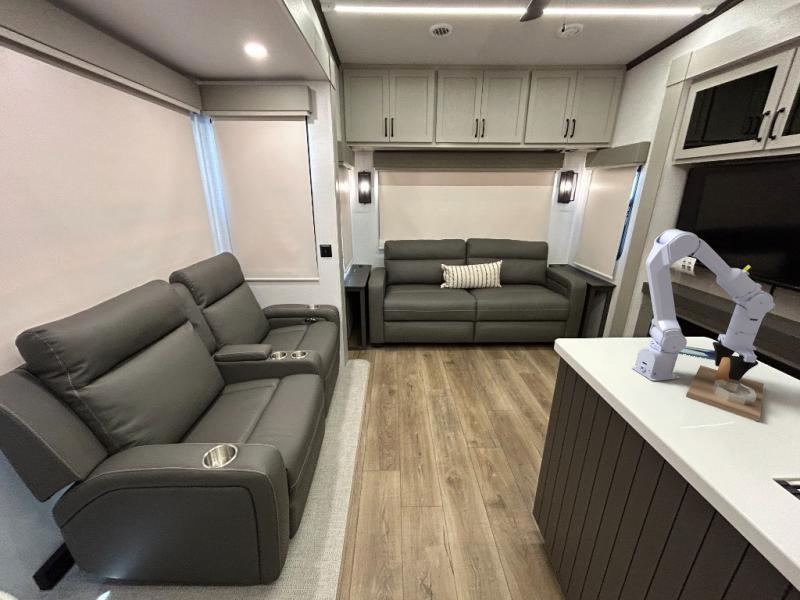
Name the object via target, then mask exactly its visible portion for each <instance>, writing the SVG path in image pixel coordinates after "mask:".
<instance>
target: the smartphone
mask: <svg viewBox="0 0 800 600" xmlns="http://www.w3.org/2000/svg"><path fill="white" fill-rule="evenodd" d="M679 354H680V355H683V354H686V355H685V356H689V355H690V357H694V356H695V358H700V357H701V359H705V358H706V360H712V361H715V350H713V349H708V348H707V349H706V348H699V347H694V346H693V347H692V346H687V345H686V346H685V348H684V349H683V350H681V351H679ZM679 354H678V355H679Z"/></svg>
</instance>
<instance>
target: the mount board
mask: <svg viewBox="0 0 800 600" xmlns="http://www.w3.org/2000/svg"><path fill="white" fill-rule="evenodd" d="M717 370H718V369H716V368H711V367H708V366H705V365H702V364H701V365H699V367H698V370H697V372H696V374H695V375H694V378H693V380H692V381H691V384H690V385H689V388H688V390H687V392H686V395H685V397H686V398H688V399H691V400H695V401H697V402H700V403H703V404H707V405H708V406H711V407H714V408H718V409H720V410H723V411H725V412H728V413H731V414H734V415H736V416H740V417H742V418H745V419H748V420H750V421H755V422H757V423H758V422H759V420H760V417H761V410H762V404H763V397H764V396H763V395H764V387H765V383H763V382H760V381H756V380H752V379H749V378H746V377H744V376H743V377H742V378H741V379H740V380H739V381H738V380H734V382H737V383H741V384H743V385H745V386H747V387H749V388H751V389H753V390H754V391H755V393H756V395H757V396H756V399H755V401H754V404H747V405H742V404H738V403H734V402H730V401H727V400H725V399H723V398H721V397H720V396H718V395H716V394H714V391H713V386H714V383H715V381H717V380H720V379H718V378H716V373H717ZM732 392H733V391H732Z"/></svg>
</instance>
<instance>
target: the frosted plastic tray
mask: <svg viewBox="0 0 800 600" xmlns="http://www.w3.org/2000/svg"><path fill="white" fill-rule="evenodd" d="M713 391H714V394H716V395H718V396H720V397H721V398H723V399H725V400H727V401H730V402H734V403H738V404H742V405H747V404H754V401H755V399H756V396H757V395H756V393H755V391H754V390H753V389H751V388H749V387H747V386H745V385H743V384H741V383H737V382H733V381H729V380H717V381H715V383H714V386H713ZM732 391H733V392H732Z"/></svg>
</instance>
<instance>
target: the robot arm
mask: <svg viewBox="0 0 800 600" xmlns="http://www.w3.org/2000/svg"><path fill="white" fill-rule="evenodd" d="M653 241H654V242H653V247H652V248H651V250H650V252H649V255H648V257H647V258H646V261H645V267H646V273H647V280H648V281H647V282H648V287H649V293H650V298H651V299H650V300H651V305H652V306H651V307H652V313H653V318H652V319H651V326H650V329H649V335H650V337H651V340H650V342H649V344H648V346H646V347H643V348H641V349H639V351H638V353H637V356H636V359H635V363H634V365H633V366H631V369H632V370H635V371H636V372H637V373H639V374H641V375H642V376H644V377H645V378H647V379H648V380H650V381H652V382H657V381H658V382H659V381H667V380H676V379H680V376H679V375H677V374H676V373H673V372H674V369H675V367H676V363H677V360H678V357H679V351H681V350H683V349H684V348H685V346H687V344H688V341H687V339H686V336H685V335H683V333H682V328H681V325H680V324H679V322H678V320H677V315H676V314H677V313H676V308H675V301H674V293H673V286H672V279H671V278H672V276H671V271H670V268H671V267H672V266H673V265H674V264H675V263H677V262H678V261H680V260H682V259H684V258H686V257H688V256H690V257H692V258H696V259H698V260H699V262H701V264H703V265H705V266H706V267H707V268H708V269H709V270H710V271H711V272H712V273H714V274H715V275H716V278H715V282H716V284H717V285H719V286H720V287H721V288H722V289H723V290H724V291H725V292H726V293H727V294H728V295H729V296H730V297H732V301H733V303H736V305H735V308H734V310H733V313H732V315H731V319H730V322H729V325H728V328H727V330H726V333H725V334H722V333H719V335H718V337H717V340H718V341H712V346H713V349H714V351H715V360H714V366H716V367H717V368H719V365H720V362H721V360H722V358H723V357H728V358H730V371H729V379H731V380H738V381H739V380H740V379H741V378H742V377H743V378H744V376H745V375H746V374H747V372H749V370H751V369H753V368H754V367H756V366H758V365H759V361H757V358H758V356H757V355H756V354H755V352H754V351H756V350H757V347H756V346H755V345H754V343H755V342H754V341H755V339H756V336H757V334H758V331H759V329H760V326H761V323H762V321H763V318H764V317H765V316H766V314H767V313H768V312H770V311H771V310H773V308H774V307H775V306H776V303H774V297H773V296H772V295H771V294H770V293H768V292H767V291H764V290H762V288H763V286H762V285H761V284H760V283H759V282H758V283H757V282H755V281H754V280H752V279H751V278H750V277H749V275H750V273H749V271H747V270H744V269H740V268H737V267H731V266H729V265H728V264H727V263H726V262H725V260H723V258H722V257H721V256H720V255H719V254H718V253H717V252H716V251H715V250H714V249H713V248H712V247H711V246H710V245H709V244H708V243H707V242H706V241H705V240H703V239H701V238H699V237H698V236H697V234H695V233H693V232H689V231H683V230H680V229H678V228H669V229H667V230H664V231H663V232H662V233H660V234H659V235H658V236H657V237H656V238H655V239H654V240H653ZM735 353H736V354H738V355H733V354H735Z"/></svg>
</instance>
